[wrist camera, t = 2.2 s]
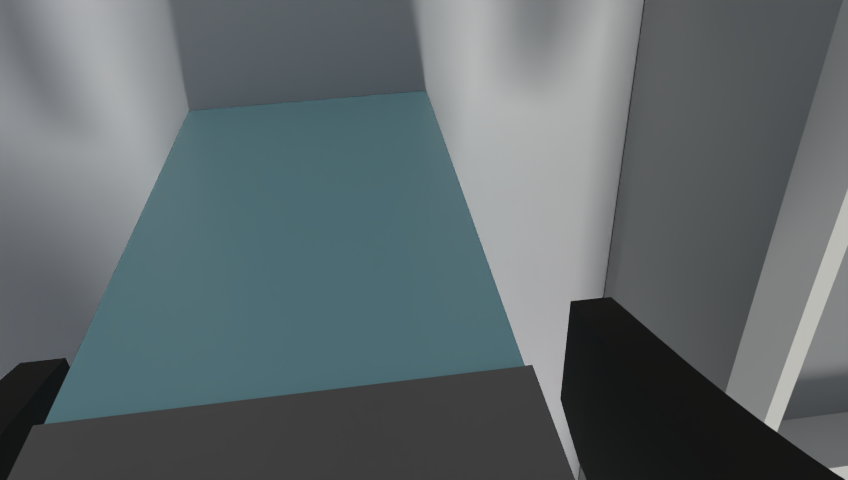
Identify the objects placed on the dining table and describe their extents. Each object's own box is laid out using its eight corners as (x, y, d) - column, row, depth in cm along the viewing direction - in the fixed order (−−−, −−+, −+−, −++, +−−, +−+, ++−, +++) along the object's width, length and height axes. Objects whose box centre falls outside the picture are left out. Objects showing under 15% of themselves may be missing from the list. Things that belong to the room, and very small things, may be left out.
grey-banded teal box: (253, 372, 14) (189, 859, 8) (185, 108, 11) (-35, 568, 4) (439, 350, 15) (533, 800, 8) (429, 87, 11) (576, 485, 5)
